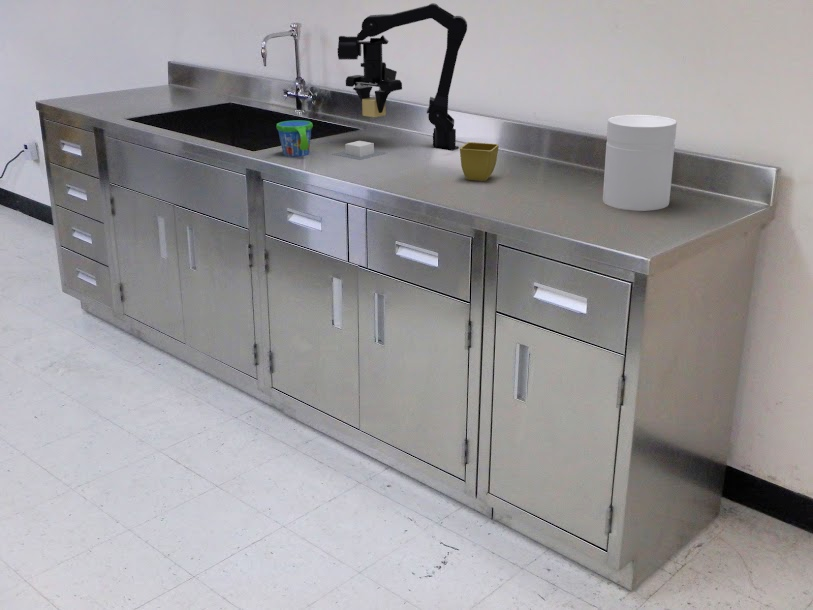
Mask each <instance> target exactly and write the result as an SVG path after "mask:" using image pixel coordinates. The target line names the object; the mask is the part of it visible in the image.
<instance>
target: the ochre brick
mask: <svg viewBox="0 0 813 610" xmlns="http://www.w3.org/2000/svg"><path fill="white" fill-rule="evenodd" d="M386 102H387V101H386ZM386 102H385V105H384V108H383V111H382V113H379V111H378V107H377V102H376V97H375V96H370V98H365V99H362V101H361V105H362V106H361V107H362V116H364V117H370V118H379V117H382V116H383V117H384V116H387V114H386V112H387V109H386V108H387V107H386Z"/></svg>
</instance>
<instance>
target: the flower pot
mask: <svg viewBox="0 0 813 610" xmlns="http://www.w3.org/2000/svg"><path fill="white" fill-rule="evenodd" d="M498 154H499V144H497V143H486V142H475V141H474V142H469V141H468V142H466V143H465V144H464V145H462V146H461V147H459V155H460V165H461V169H462V172H463V175H464V177H465V178H466V180H468V181H476V182H477V181H479V182H486V181H487V180H488V179H490V177H491V175H492V174H493V173H494V170H495V168H496V164H497V160H498Z"/></svg>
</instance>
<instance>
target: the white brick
mask: <svg viewBox="0 0 813 610" xmlns="http://www.w3.org/2000/svg"><path fill="white" fill-rule="evenodd" d="M374 143H375V142H368V141H363V140H357V141H352V142H348V143H345V147H344V148H345V151H346V154H349V155H354V156H359V157H361V156H365V155H369V154H373V153H374V150H375V145H374Z"/></svg>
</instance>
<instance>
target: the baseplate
mask: <svg viewBox="0 0 813 610" xmlns="http://www.w3.org/2000/svg"><path fill="white" fill-rule="evenodd" d="M386 154H387V152H385V151H380V150H375V149H374V153H373V154H369V155H365V156H361V157H359V156H354V155H349V154H346V150H344V151H339V152H334V153H332V154H331V155H333V156H338V157H341V158H342V157H343V158H348V159H352V160H359V161H364V160H366V159H370V158H374V157H379V156H383V155H386Z"/></svg>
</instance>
